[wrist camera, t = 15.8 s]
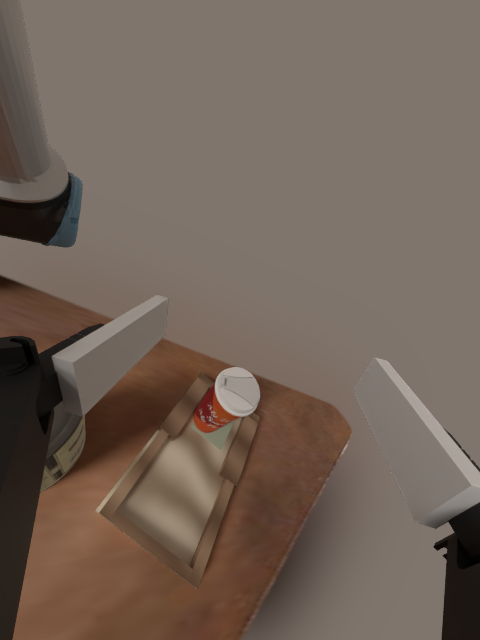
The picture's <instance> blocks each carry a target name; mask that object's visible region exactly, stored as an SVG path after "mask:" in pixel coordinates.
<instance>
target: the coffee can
mask: <svg viewBox="0 0 480 640" xmlns="http://www.w3.org/2000/svg"><path fill="white" fill-rule="evenodd" d="M54 413H55V415H54V420H53V425H52V431H51V436H50V441H49V447H48V452H47V457H46V463H45V468H44V473H43V478H42V484H41V489H40V492H41V491H43V490H45V489H47V488H48V487H50V486H52V485H53V484H55V483H56V482H57V481H59V480H60V479H61V478H62V477H63V476H64V475H65V474H66V473H67V472H68V471H69V470H70V469H71V468H72V467H73V466H74V464H75V463H76V461H77V460H78V458H79V456H80V455H81V453H82V450H83V448H84V444H85V440H86V430H85V415H84V416H83V417H82V416H79V415H76V414H73V413H70V412H67V411H65V409H64V405H63V401H62V402H60V403H59V404H58V405H57V406H56V407H54Z"/></svg>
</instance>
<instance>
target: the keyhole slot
mask: <svg viewBox="0 0 480 640" xmlns="http://www.w3.org/2000/svg"><path fill="white" fill-rule="evenodd" d="M214 383H215V382H213V381H212V380H211V379H209V378H208V377H207V376H206V375H204V374H203V373H202V372H201V373H200V375H199V376H198V377H197V378H196V380H195V381H194V382H193V384H192V385H191V386H190V388H189V389H188V390H187V392H186V393H185V394H184V395H183V397H182V398H181V399H180V401H179V402H178V403H177V405H176V406H175V407H174V409H173V410H172V411H171V412H170V414H169V415H168V416H167V418H166V419H165V420H164V422H163V423H162V424H161V426H160V427H159V428H158V429H157V431H156V432H155V433H154V435H153V436H152V437H151V439H150V440H149V441H148V443H147V444H146V445H145V446H144V448H143V449H142V450H141V452H140V453H139V454H138V456H137V457H136V458H135V460H134V461H133V462H132V463H131V465H130V466H129V467H128V469H127V470H126V471H125V473H124V474H123V475H122V477H121V478H120V479H119V481H118V482H117V483H116V484H115V486H114V487H113V488H112V490H111V491H110V492H109V494H108V495H107V496H106V498H105V499H104V500H103V501H102V503H101V504H100V505H99V507H98V508H97V509H96V512H98V513H99V514H100V515H101V516H103V517H104V518H105V519H107V520H108V521H109V522H111V523H112V524H113V525H114V526H116V527H117V528H118V529H120V530H121V531H122V532H123V533H125V534H126V535H127V536H129V537H130V538H131V539H132V540H134V541H135V542H136V543H138V544H139V545H140V546H142V547H143V548H144V549H145V550H147V551H148V552H149V553H151V554H152V555H153V556H154V557H156V558H157V559H158V560H160V561H161V562H162V563H164V564H165V565H166V566H167V567H169V568H170V569H171V570H173V571H174V572H175V573H176V574H178V575H179V576H180V577H182V578H183V579H184V580H186V581H187V582H188V583H189V584H191V585H192V586H193V587H195V588H196V589H198V587H199V585H200V582H201V579H202V576H203V573H204V570H205V567H206V565H207V562H208V559H209V556H210V553H211V550H212V547H213V545H214V542H215V539H216V536H217V533H218V530H219V527H220V524H221V522H222V519H223V516H224V513H225V510H226V507H227V504H228V502H229V499H230V496H231V493H232V490H233V487H237V485H238V482H239V479H240V476H241V473H242V470H243V467H244V464H245V461H246V458H247V455H248V452H249V449H250V446H251V443H252V440H253V437H254V434H255V431H256V428H257V426H258V423H259V420H260V417H259V416H258V415H256V414H255V413H254V412H253V413H251V414H250V415H248V416H244V417H240V418H238V419H236V420H234V423H233V425H232V427H231V429H230V432H229V434H228V436H227V438H226V440H225V443H224V445H223V447H222V449H221V450H220V449H218V448H217V447H216V446H214V445H213V444H212V443H210V442H209V441H208V440H207V439H205V438H204V437H203V436H201V435H200V434H199V433H197V432H196V431H195V430H193V429H192V428H191V425H192V424H193V422H194V418H193V416H194V412H195V409H196V408H197V406H198V405H199V403H200V402H201V401H202V399H203V398H204V396H205V395H206V394H207V392H208V391H209V390H210V389H211V387H212V386H213V385H214Z"/></svg>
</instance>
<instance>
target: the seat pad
mask: <svg viewBox="0 0 480 640" xmlns="http://www.w3.org/2000/svg"><path fill="white" fill-rule="evenodd" d="M233 423H234V421H232V422H230V423H229V424H227V425H225V426H223V427H221V428H219V429H217V430H215V431H213V432H210V433H204V432H202V431H200V430H199V429H198V428H197V427H196V425H195V423H194V422H193V424H192V425H191V428H192V429H193V430H195V431H196V432H197V433H199V434H200V435H201V436H203V437H204V438H205V439H207V440H208V441H209V442H210V443H212V444H213V445H214V446H216V447H217V448H218V449H220V450H221V449H222V447H223V445H224V443H225V440H226V438H227V436H228V434H229V432H230V429H231V427H232V425H233Z"/></svg>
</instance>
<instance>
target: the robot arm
mask: <svg viewBox="0 0 480 640" xmlns="http://www.w3.org/2000/svg"><path fill="white" fill-rule="evenodd" d="M82 186H83V184H82V181H81V180H80V179H79V178H77V177H75V176H74V175H73V174H72V173H69V172H67V168H66V165H65V163H64V161H63V159H62V158H61V156H60V155H59V154H58V152H57V151H56V150H55V149H54V148H53V147H52V146H51V145H50V144H49V143H48V140H47V135H46V130H45V125H44V120H43V115H42V110H41V104H40V100H39V94H38V89H37V84H36V79H35V74H34V69H33V64H32V59H31V53H30V48H29V43H28V38H27V33H26V28H25V23H24V18H23V13H22V8H21V3H20V0H0V235H2V236H7V237H12V238H17V239H22V240H27V241H32V242H37V243H41V244H43V245H46V246H49V245H53V246H59V247H71V246H72V245H74V243H75V241H76V237H77V230H78V220H79V215H80V207H81V199H82ZM168 300H169V298H167V297H163V296H160V295H156V296H154V297H152V298H151V299H149V300H147V301H146V302H144V303H142V304H140V305H139V306H137V307H135V308H133V309H132V310H130V311H128V312H127V313H125V314H123V315H121V316H120V317H118V318H116V319H115V320H113V321H111V322H109V323H108V324H106V325H104V324H98V325H94V326H91V327H88V328H86V329H84V330H82V331H80V332H78V334H75V335H73V336H71V337H69V339H66V340H64V341H62V342H60V343H58V344H56V345H54V346H53V347H51V348H49V349H47V350H45V351H43V352H42V353H40V354H38V351H37V348H36V344H35V341H34V340H32V339H31V338H28V337H23V336H10V337H3V338H0V640H12V638H13V633H14V628H15V622H16V617H17V612H18V606H19V601H20V596H21V590H22V585H23V580H24V574H25V569H26V564H27V558H28V553H29V548H30V542H31V537H32V532H33V526H34V521H35V516H36V510H37V505H38V500H39V494H40V489H41V484H42V478H43V473H44V468H45V463H46V457H47V452H48V447H49V441H50V436H51V431H52V425H53V420H54V415H55V413H54V407H56V406H57V405H58V404H59V403H60V402H62V401H63V405H64V409H65V411H67V412H70V413H73V414H76V415H79V416H82V417H83V416H84V415H85V414H86V413H87V412H88V411H89V410H90V409H91V408H92V407H93V406H94V405H95V404H96V403H97V402H98V401H99V400H100V399H101V398H102V397H103V396H104V395H105V394H106V393H107V392H108V391H109V390H110V389H111V388H112V387H113V386H114V385H115V384H116V383H117V382H119V381H120V380H121V379H122V378H123V377H124V376H125V375H126V374H127V373H128V372H129V371H130V370H131V369H132V368H133V367H134V366H135V365H136V364H137V363H138V362H139V361H140V360H141V359H142V358H143V357H144V356H145V355H146V354H147V353H148V352H149V351H150V350H151V349H152V348H153V347H154V346H155V345H156V344H157V343H158V342H159V341H160V340H161V339H162V338H163V337H164V336H165V335H166V325H167V313H168ZM353 392H354V394H355V396H356V398H357V400H358V402H359V404H360V406H361V409H362V411H363V413H364V415H365V417H366V419H367V421H368V423H369V426H370V428H371V429H372V432H373V434H374V436H375V438H376V440H377V442H378V445H379V446H380V449H381V451H382V453H383V455H384V457H385V459H386V461H387V464H388V465H389V468H390V470H391V472H392V474H393V476H394V478H395V481H396V482H397V485H398V487H399V489H400V491H401V493H402V495H403V497H404V499H405V501H406V504H407V506H408V508H409V510H410V512H411V514H412V516H413V519H414V520H415V522H416V523H419V524H423V525H426V526H429V527H432V528H435V529H436V528H438V527H440V526H441V525H443V524H445V523H447V522H449V523H450V525H451V527H452V529H453V530H454V532H455V533H453V534H451V535H450V536H448V537H446V538H444V539H442V540H440V541H438V542H436V543H435V545H434V548H435V549H436V550H437V551H438V550H440V549H441V548H443V547H445V548H447V553H446V554H444V555H443V557H444V558H445V559H446V560H447V563H446V579H445V595H444V611H443V626H442V640H480V469H479V467H478V466H477V465H476V464H475V462H474V461H473V460H470V457H469V455H468V454H467V453H466V452H465V451H464V450H463V449H461V446H460V445H459V444H458V442H457V441H456V440H455V439H454V438H453V436H452V435H451V434H450V433H449V432H447V431H446V430H445V429H444V428H443V427H442V426H441V425H440V424H439V423H438V422H437V420H436V419H435V418H434V417H433V415H432V414H431V413H430V412H429V411H428V409H427V408H426V407H425V406H424V405H423V404H422V402H421V401H420V400H419V399H418V398H417V396H416V395H415V394H414V393H413V391H412V390H411V389H410V388H409V387H408V385H407V384H406V383H405V382H404V381H403V379H402V378H401V377H400V376H399V375H398V374H397V372H396V371H395V370H394V369H393V367H392V366H391V365H390V364H389V363H388V361H386V360H382V359H379V358H374V359H373V361H372V362H371V364H370V365H369V366H368V368H367V369H366V371H365V372H364V374H363V375H362V377H361V378H360V380H359V381H358V382H357V384H356V385H355V387H354V388H353Z"/></svg>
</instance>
